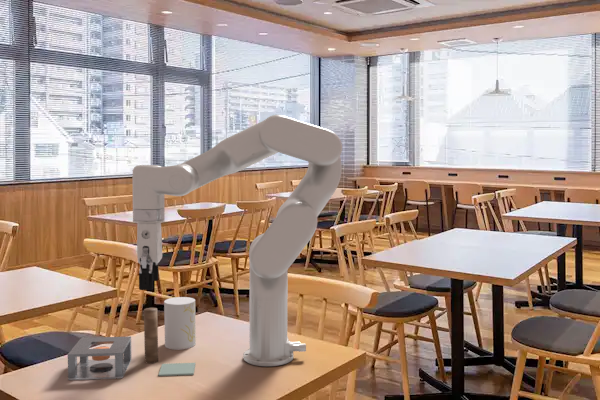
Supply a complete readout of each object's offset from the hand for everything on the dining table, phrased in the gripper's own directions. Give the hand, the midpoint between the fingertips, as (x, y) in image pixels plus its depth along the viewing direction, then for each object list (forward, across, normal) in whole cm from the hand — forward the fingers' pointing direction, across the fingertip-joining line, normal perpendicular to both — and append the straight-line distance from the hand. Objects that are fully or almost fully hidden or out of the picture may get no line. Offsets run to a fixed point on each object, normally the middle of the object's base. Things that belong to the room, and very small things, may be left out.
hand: (149, 285), depth 146 cm
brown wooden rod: (+19, 0, 0) cm, 19 cm away
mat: (+19, -7, -8) cm, 22 cm away
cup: (+19, +12, -6) cm, 24 cm away
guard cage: (+19, -5, +10) cm, 22 cm away
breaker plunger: (+16, -5, +11) cm, 20 cm away
